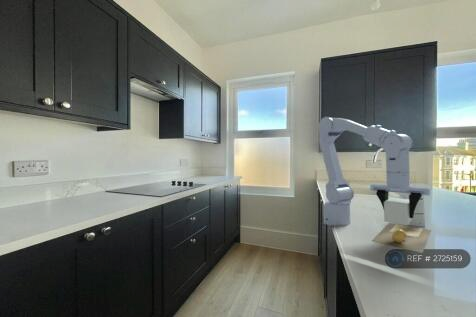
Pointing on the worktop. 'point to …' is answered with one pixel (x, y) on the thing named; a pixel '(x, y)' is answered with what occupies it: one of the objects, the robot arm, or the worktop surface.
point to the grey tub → (397, 211)
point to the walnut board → (413, 240)
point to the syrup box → (416, 211)
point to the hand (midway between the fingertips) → (398, 215)
